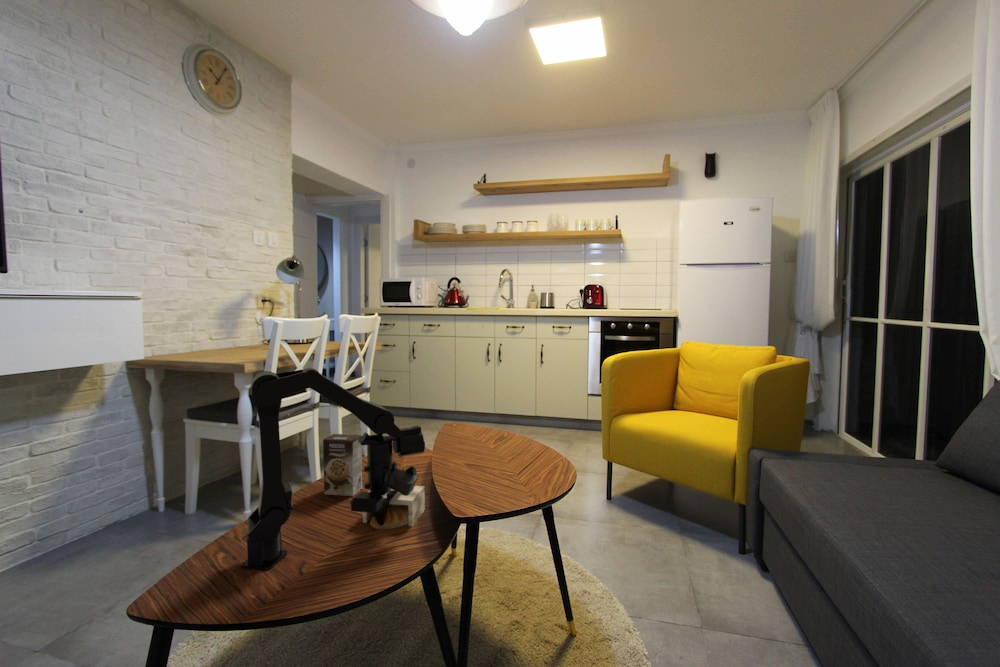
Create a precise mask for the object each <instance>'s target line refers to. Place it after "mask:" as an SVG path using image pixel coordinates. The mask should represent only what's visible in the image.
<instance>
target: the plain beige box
mask: <svg viewBox="0 0 1000 667" xmlns="http://www.w3.org/2000/svg"><path fill="white" fill-rule="evenodd" d="M393 491H395V490H393ZM425 491H426V490H425V485H415V486H414V489H413V491H411V492H410V494H409V495H407V496H404V495H402V494H401V493H399V492H398V493H397V494H396V495H395V496H394V497H393V498H392V499H391V500H390V504H389V507H388V508H390V507H401V506H402V505H405V506H407V509H408V517H409V524H408V527H414V525H415V524H416V523H417V521H418V520H419V519H420V517H421V516H422V515H423V513H424V512H425V511H426V496H425V495H426V494H425V493H426V492H425ZM368 492H370V490H368ZM424 510H425V511H424ZM361 513H362V523H363V524H365V523H366V524H367V523H368V522H369V521H371V519H372V517H373V514H372V513H370V512H361ZM421 514H422V515H421ZM418 518H419V519H418ZM417 519H418V520H417ZM415 522H416V523H415ZM414 523H415V524H414Z"/></svg>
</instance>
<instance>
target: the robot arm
mask: <svg viewBox="0 0 1000 667" xmlns="http://www.w3.org/2000/svg"><path fill="white" fill-rule="evenodd" d="M250 386H251V387H250V390H251V394H252V398H253V401H254V402H253V403H254V406H255V408H256V409H255V410H256V413H257V415H258V423H259V426H258V427H259V439H260V440H259V441H260V454H261V455H260V456H261V457H260V458H261V461H260V462H261V473H262V474H261V475H262V476H261V477H262V480H261V486H260V490H259V499H258V506H257V508H255V509H254V511H253V512H252V513H251V514H250V515H249V516H248V517H247V537H246V552H247V554H246V555H247V559H246V560H245V561H243V562H242V563H241V564H240V567H241V568H246V569H247V568H248V569H257V570H270V569H271V568H273V566H275V565H276V564H277V563H279V562H280V560H282V559H283V558H284V557H285V556H287V555H288V553H289V552H288V550H283V548H282V546H283V544H282V530H281V528H282V526H284V525H285V524H286V523H287V521H288V520H289V519H290V515H291V512H292V511H294V507H293V506H294V505H293V501H292V498H293V497H292V496H293V491H292V485H291V482H290V481H287V482H285V483H284V482H283V476H282V475H283V474H282V458H281V456H282V455H281V441H280V440H281V439H280V422H279V421H280V419H279V416H280V412H281V411H280V410H281V407H282V401H283V396H284V395H285V396H286V395H289V394H293V393H296V392H300V391H303V390H306V389H311V390H313V391H315V392H316V393H318V394H320V395H321V396H322V397H324V398H327V399H328V400H330V401H331V402H332V403H334V404H336V405H337V406H339V407H341V408H343V409H345V410H346V411H348V412H350V413H351V414H352V415H353V416H355V417H356V418H357V419H358V420H359V421H360V422H361V423H363V424H364V425H365V426H366V427H367V428H368V429H370V430H371V431H372V433H373V434H368V433H367V432H366V431H365V432H363V434H362V437H360V438H359V439H358V442H359V443H360V444H361V445H362V446H366V448H367V449H366V454H367V455H366V458H367V464H366V465H365V466H364V467H363V471H364V472H366V473H367V482H366V483H364V490H369V491H370V492H369V491H360V492H359V493H358V494H357V495H354V496H353V498H352V499H351V500H350V501H349V509H350V511H351V512H357V513H358V512H360V513H362V512H370V513H372V514H373V516H374V517H375V519H376V521H377V523H378V524H379V525H383V524H384V523H385V519H386V515H387V511H388V507H389V504H390V500H391V499H392V498H393V497H394V496H395V495H396V494H397V493H398V492H399V493H401V494H402V495H404V496H407V495H409V494H410V492H411V491H413V489H414V486H416V482H418V480H419V477H418V476H419V475H418V474H417V468H416V467H414V466H413V465H410V466H409V467H408V468H407V469H406V470H405V469H404V468H402V469H398V464H397V461H394V460H393V453H394V454H395V455H397V456H398V457H399V458H403V457H409V456H415V455H420V454H421V455H422V454H424V453H425V449H426V442H425V440H424V435H423V433H422V427H421V426H419V425H413V426H409V427H402V428H400V427H398V426H397V424H395V416H394V415H393V413H391V411H389V410H388V409H386V408H385V407H384V406H382V405H379V404H377V403H374V402H373V401H372V402H371V401H369V400H366V399H363V398H360V397H358V396H357V395H355V394H354V393H352V392H351V391H349V390H347V389H345V388H344V387H342V386H340V385H339V384H338V383H336V382H334V381H333V380H331V379H330V378H328V377H327V376H324V375H323V374H322V373H320V372H319V371H318V370H317V369H316V368H313V367H305V368H303V369H298V370H290V371H289V370H288V371H281V372H277V373H275V372H272V371H269V370H268V371H267V370H265V371H261V372H259V373H257V374H256V375H254V376H253V377H252V380H251V383H250ZM385 434H386V435H385ZM393 490H395V491H393Z"/></svg>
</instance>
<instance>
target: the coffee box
mask: <svg viewBox="0 0 1000 667" xmlns="http://www.w3.org/2000/svg"><path fill="white" fill-rule="evenodd" d="M362 436H363V434H343V433H332V434H331V435H328V436H326V437H325V438H323V440H322V448H323V449H322V450H323V451H322V452H323V453H322V454H323V456H322V457H323V489H324V490H323V493H324V495H329V496H330V495H332V496H343V497H345V496H347V497H355V496H356V494H357V493H358V492H359V491H361V490H362V489H363V463H362V461H363V455H362V454H363V452H362V450H363V447H362V445H361V444H360V443H359V442H358V439H359V438H360V437H362ZM360 489H361V490H360Z"/></svg>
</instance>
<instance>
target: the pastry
mask: <svg viewBox="0 0 1000 667" xmlns="http://www.w3.org/2000/svg"><path fill="white" fill-rule="evenodd" d="M369 521H370V523H369V525H370V526H371V527H372V528H373V529H375V530H382V529H383V530H385V529H387V530H389V529H394V528H395V527H396V528H401V527H400V526H402V527H404V526H403V525H406V526H408V525H409V517H408V509H407V506H405V505H402V506H401V507H390V508H388V511H387V515H386V519H385V523H384V524H383V525H379V524H378V523H377V521H376V519H375V517H374V516H373V517H372V518H371V519H370V520H369ZM407 524H408V525H407ZM396 528H395V529H396Z"/></svg>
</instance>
